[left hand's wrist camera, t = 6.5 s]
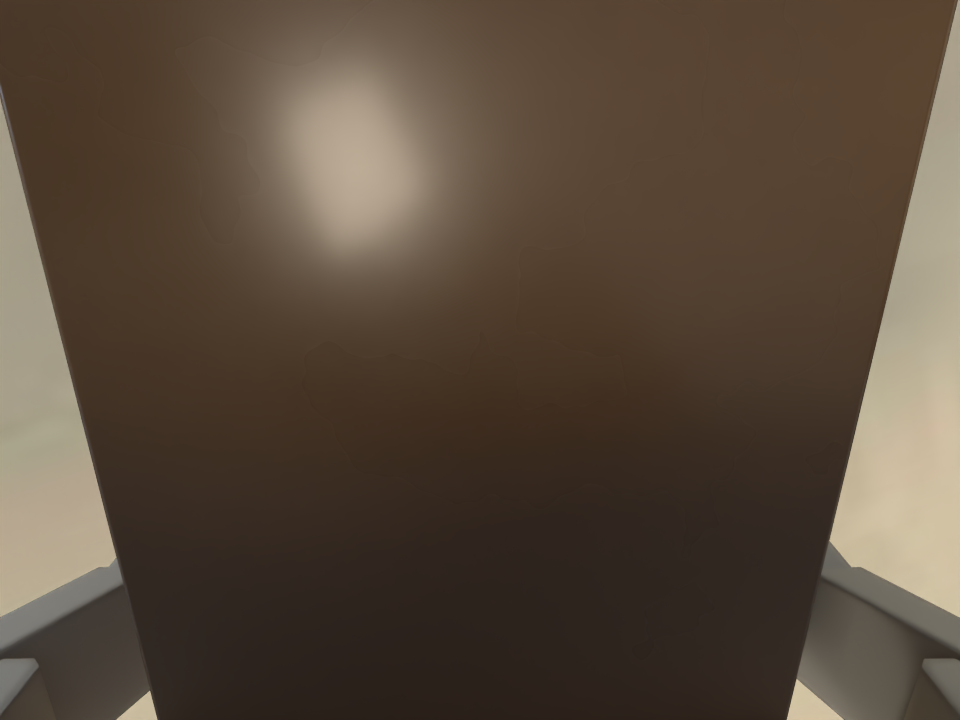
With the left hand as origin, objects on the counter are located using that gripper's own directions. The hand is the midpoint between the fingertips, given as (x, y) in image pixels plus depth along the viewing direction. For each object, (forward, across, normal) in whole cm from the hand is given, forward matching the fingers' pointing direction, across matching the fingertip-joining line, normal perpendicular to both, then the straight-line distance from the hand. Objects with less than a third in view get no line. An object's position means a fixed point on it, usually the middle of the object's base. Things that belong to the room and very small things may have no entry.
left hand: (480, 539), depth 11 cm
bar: (+3, 0, -8) cm, 9 cm away
